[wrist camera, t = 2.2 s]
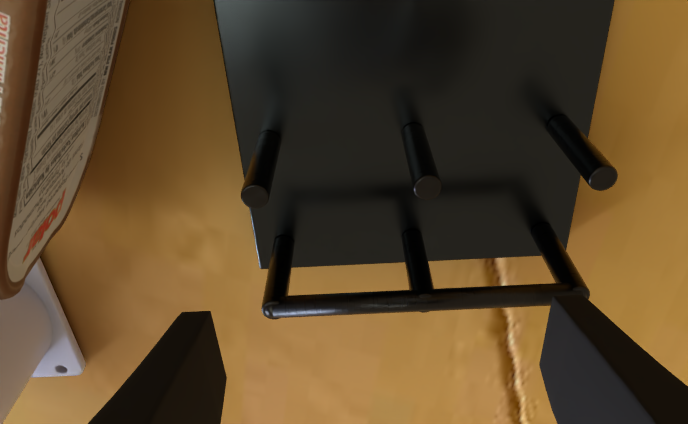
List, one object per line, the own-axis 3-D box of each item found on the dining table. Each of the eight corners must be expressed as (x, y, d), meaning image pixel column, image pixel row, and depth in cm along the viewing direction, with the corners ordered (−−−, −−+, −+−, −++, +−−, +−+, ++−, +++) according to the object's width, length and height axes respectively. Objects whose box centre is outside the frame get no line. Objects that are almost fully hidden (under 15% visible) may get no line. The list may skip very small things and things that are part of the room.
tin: (88, -315, 13) (-200, -525, 6) (212, -247, 14) (81, -366, 7) (14, 179, 21) (-158, 343, 14) (99, 208, 21) (-23, 378, 14)
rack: (263, 254, 23) (244, 342, 18) (139, -483, 12) (29, -672, 8) (557, 240, 22) (607, 326, 18) (697, -531, 12) (897, -754, 7)
